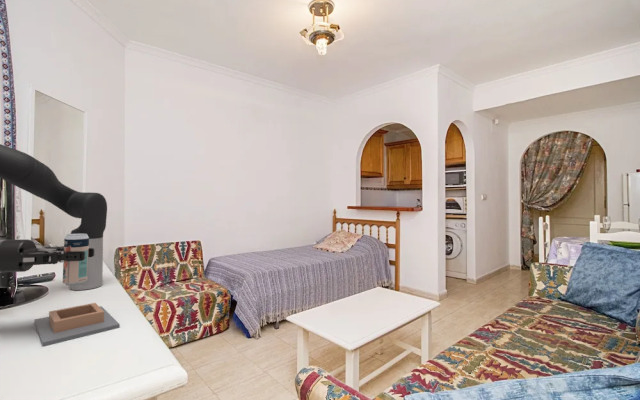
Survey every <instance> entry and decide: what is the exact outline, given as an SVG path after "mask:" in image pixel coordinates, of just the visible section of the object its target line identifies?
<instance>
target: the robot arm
mask: <svg viewBox="0 0 640 400" xmlns="http://www.w3.org/2000/svg"><path fill="white" fill-rule="evenodd" d="M0 179H2V180H3V181H4V182H7V183H9V184H11V185H14V186H15V187H16V188H19V189H21V190H23V191H25V192H27V193H29V194H31V195H34V196H36V197H37V198H40V199H41V200H44V201H46V202H48V203H50V204H52V205H54V206H55V207H57V208H58V209H59V210H61V211H62V212H64V213H66V215H69V216H70V217H73V218H75V219H81V220H80V225H79V226H78V227H77V228H74V229H72V230H71V231H70V234H79V233H81V234H87V235H88V237H89V252H88V277H87V281H85V282H84V283H82V284H77V285H69V290H71V291H81V290H82V291H84V290H91V289H97V288H99V287H102V286H103V276H104V275H103V272H104V271H103V270H104V269H103V267H104V265H103V264H104V261H103V260H104V232H105V231H106V227H107V217H108V216H107V215H108V203H107V200H106V198H105V196H104V195H103V194H101V193H99V192H85V191H84V192H83V191H82V192H81V191H77V190H75V189H73V188H71V187H69V186H66V185H65V184H63V182H61V181H60V180H59V179H58V177H57V176H56V174H55V172H54V171H53V170H52V169H51V168H50V167H49V166H47V165H46V164H45V163H43V162H42V161H40V160H38V159H36V158H35V157H33V156H32V155H30V154H28V153H25V152H23V151H21V150H18V149H15V148H13V147H10V146H7V145H4V144H0ZM83 260H85V252H84V251H68V252H66V253H65V251H64V245H63V246H62V245H61V246H60V245H59V246H58V245H55V246H51V245H42V246H41V247H39V246H38V247H37V246H36V243H35V242H34V241H33V240H31V239H0V273H22V272H23V273H25V272H27V271H30V269H31V268H33V266H40V265H57V264H58V263H59V264H61V263H63V262H65V261H83Z"/></svg>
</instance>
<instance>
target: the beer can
mask: <svg viewBox="0 0 640 400" xmlns="http://www.w3.org/2000/svg"><path fill="white" fill-rule="evenodd" d="M63 242H64V243H63V246H64V251H65V253H66V252H68V251H84V252H85V260H83V261H65V262H63V265H62V284H65V285H68V286H70V285H77V284H82V283H84V282H85V281H87V277H88V252H89V237H88V235H87V234H81V233H79V234H71V233H67V234H66V236H64V240H63Z"/></svg>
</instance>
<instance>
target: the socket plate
mask: <svg viewBox="0 0 640 400" xmlns="http://www.w3.org/2000/svg"><path fill="white" fill-rule="evenodd" d="M34 325H35V328H36V330H37V334H38V336H39V339H40V343H41V346H42V347H45V346H50V345H54V344H58V343H62V342H66V341H70V340H74V339H78V338H81V337H82V338H83V337H86V336H90V335H95V334H99V333H103V332H107V331H110V330H114V329H118V328H120V322H118V321H117V320H116V319H115V318H114V317H113V316H112V315H111V314H110V313H109V312H108V311H107V310H106V309H105V308H104V307H103V306H101V305H98V304H97V303H96V302H92V303H86V304H81V305H76V306H72V307H67V308H62V309H61V308H60V309H56V310H51V311H48V316H45V317H41V318H36V319H34Z"/></svg>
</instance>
